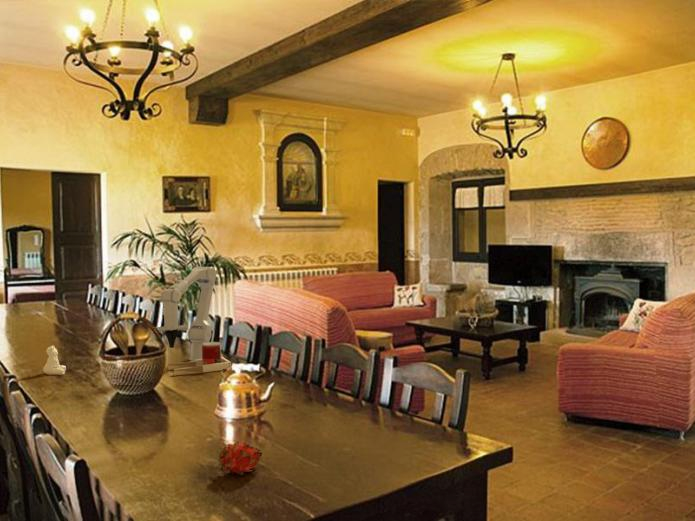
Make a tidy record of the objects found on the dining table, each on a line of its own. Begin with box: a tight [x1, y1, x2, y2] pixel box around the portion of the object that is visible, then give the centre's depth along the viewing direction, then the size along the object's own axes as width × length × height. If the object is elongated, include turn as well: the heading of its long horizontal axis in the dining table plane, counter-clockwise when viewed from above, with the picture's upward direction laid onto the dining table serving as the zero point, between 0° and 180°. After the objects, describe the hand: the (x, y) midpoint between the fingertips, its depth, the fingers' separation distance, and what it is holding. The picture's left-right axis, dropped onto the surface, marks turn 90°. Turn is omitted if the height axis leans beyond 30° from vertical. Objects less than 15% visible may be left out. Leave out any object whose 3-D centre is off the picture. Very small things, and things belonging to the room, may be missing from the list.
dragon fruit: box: [218, 441, 263, 476], centre depth 152 cm, size 8×8×12 cm
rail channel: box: [167, 360, 204, 377], centre depth 260 cm, size 13×12×2 cm
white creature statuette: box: [42, 345, 67, 376], centre depth 257 cm, size 10×9×12 cm
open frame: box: [195, 356, 232, 373], centre depth 266 cm, size 13×12×3 cm
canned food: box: [202, 341, 222, 365], centre depth 265 cm, size 8×8×11 cm
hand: (171, 347), depth 262 cm, fingers closed
